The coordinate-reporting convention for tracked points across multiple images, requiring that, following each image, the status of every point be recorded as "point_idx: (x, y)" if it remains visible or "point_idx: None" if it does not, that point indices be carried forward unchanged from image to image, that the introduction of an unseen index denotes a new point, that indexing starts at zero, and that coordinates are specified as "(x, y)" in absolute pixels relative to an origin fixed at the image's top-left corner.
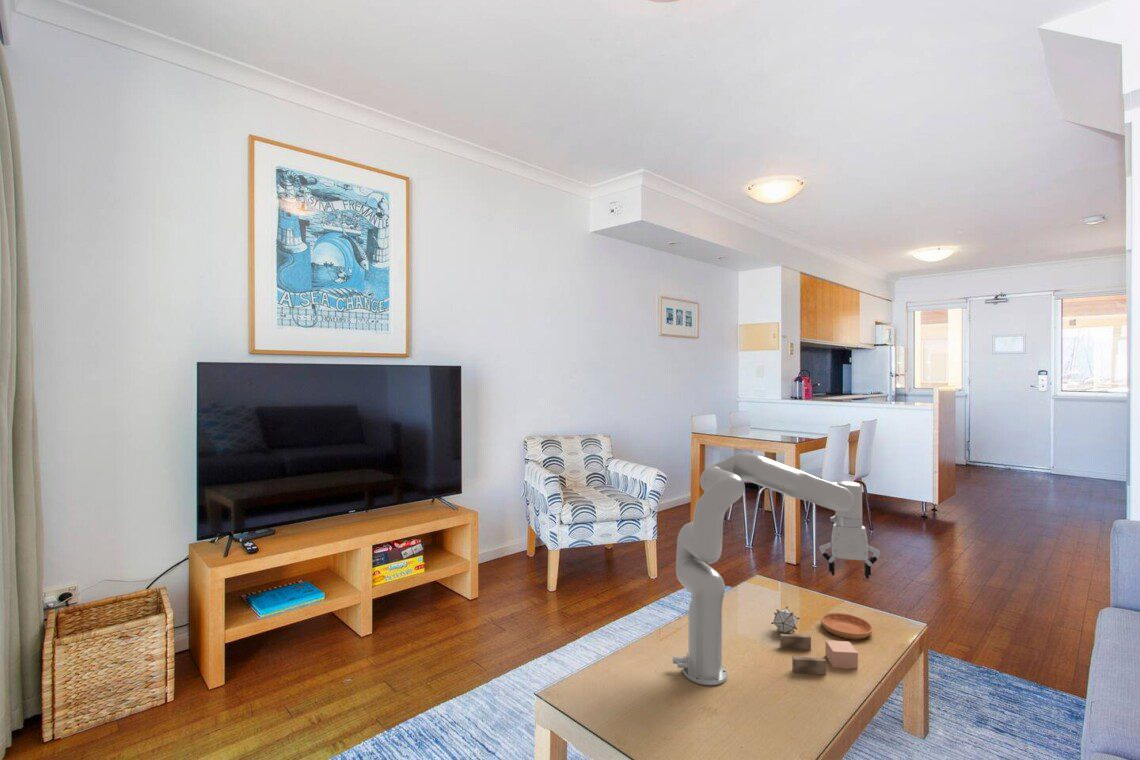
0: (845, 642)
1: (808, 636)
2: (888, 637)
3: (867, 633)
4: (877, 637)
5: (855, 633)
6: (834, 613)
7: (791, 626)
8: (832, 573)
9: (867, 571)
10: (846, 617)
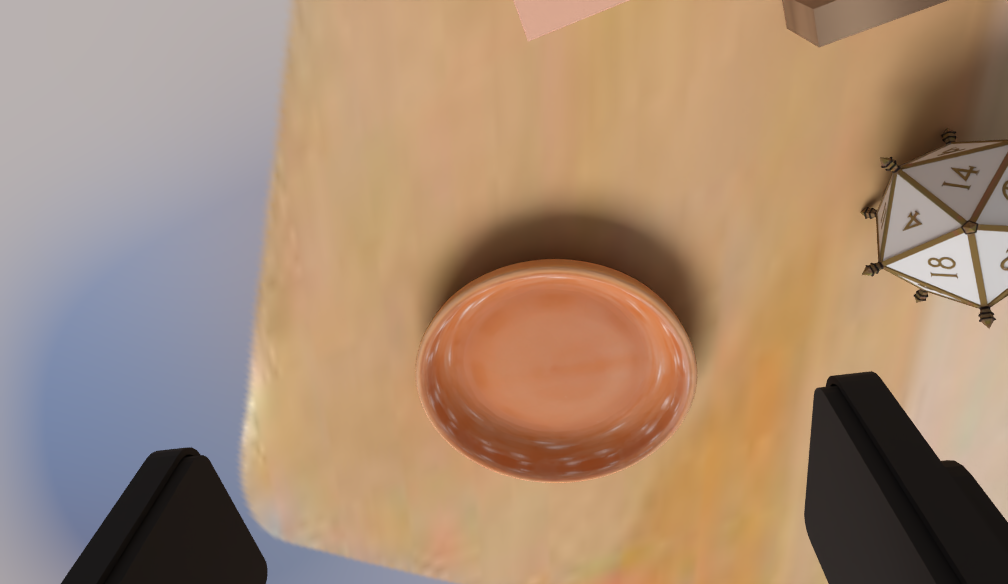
0: (555, 8)
1: (831, 20)
2: (350, 368)
3: (436, 314)
4: (398, 346)
5: (499, 278)
6: (615, 468)
7: (931, 160)
8: (883, 399)
9: (91, 574)
10: (553, 463)
